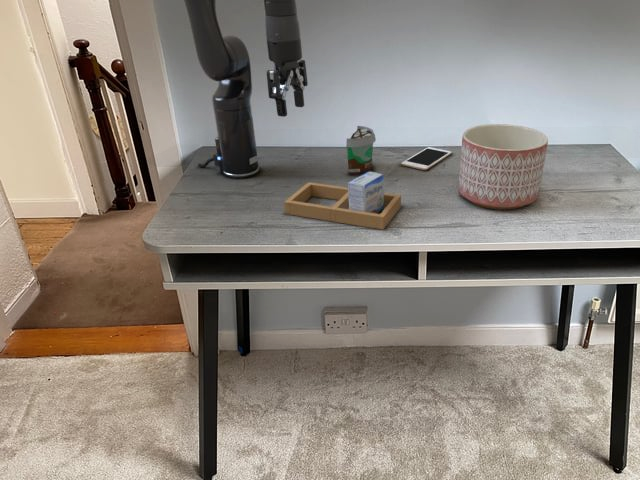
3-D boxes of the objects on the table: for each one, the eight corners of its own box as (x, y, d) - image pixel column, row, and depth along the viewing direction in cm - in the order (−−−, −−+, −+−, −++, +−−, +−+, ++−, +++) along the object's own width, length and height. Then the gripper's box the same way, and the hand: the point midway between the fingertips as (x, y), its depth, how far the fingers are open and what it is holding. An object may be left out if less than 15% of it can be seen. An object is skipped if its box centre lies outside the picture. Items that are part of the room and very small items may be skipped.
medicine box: (365, 222, 122) (364, 185, 117) (348, 218, 124) (347, 181, 119) (384, 210, 127) (384, 174, 123) (368, 205, 129) (367, 170, 125)
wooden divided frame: (285, 213, 125) (284, 201, 124) (309, 193, 135) (308, 181, 134) (383, 229, 119) (383, 217, 117) (401, 207, 129) (401, 195, 127)
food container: (370, 178, 144) (369, 140, 138) (347, 176, 145) (346, 139, 139) (380, 162, 154) (380, 126, 148) (358, 160, 155) (357, 125, 149)
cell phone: (400, 165, 151) (400, 163, 151) (428, 148, 163) (428, 146, 163) (425, 170, 148) (426, 168, 148) (452, 153, 160) (452, 151, 159)
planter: (514, 178, 144) (522, 121, 136) (553, 207, 129) (564, 145, 121) (446, 185, 140) (450, 127, 132) (477, 217, 124) (484, 153, 116)
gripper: (284, 32, 129) (291, 103, 138) (251, 41, 118) (261, 118, 127) (313, 33, 127) (318, 105, 136) (282, 42, 116) (290, 120, 124)
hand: (291, 111), depth 131 cm, fingers open, 8 cm apart
